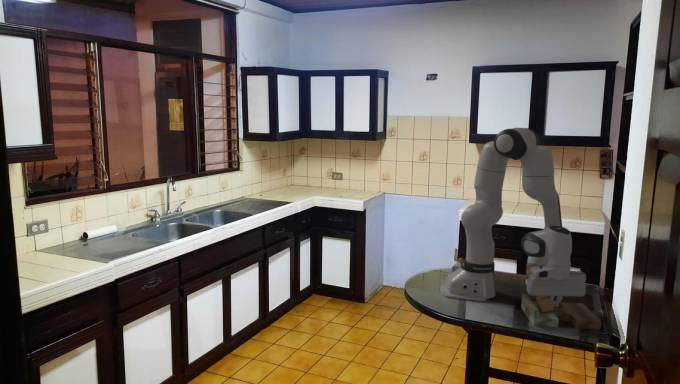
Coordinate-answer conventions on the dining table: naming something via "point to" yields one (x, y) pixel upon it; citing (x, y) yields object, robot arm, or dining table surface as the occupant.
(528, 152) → the robot arm
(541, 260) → the milk bottle
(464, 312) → the dining table surface
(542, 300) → the terracotta cube
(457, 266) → the charger
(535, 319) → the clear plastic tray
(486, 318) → the dining table surface
